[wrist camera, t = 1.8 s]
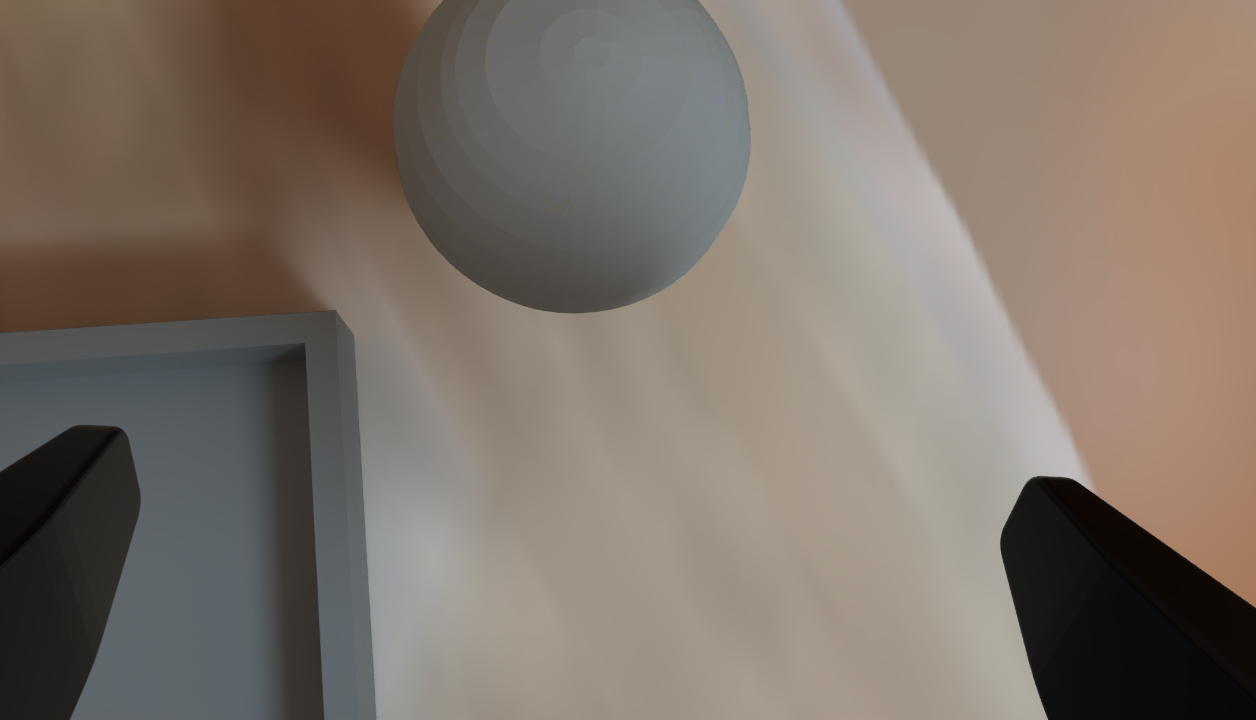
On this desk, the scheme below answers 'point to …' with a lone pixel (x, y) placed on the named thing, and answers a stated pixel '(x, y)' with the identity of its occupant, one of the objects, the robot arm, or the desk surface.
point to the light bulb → (571, 145)
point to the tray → (218, 510)
